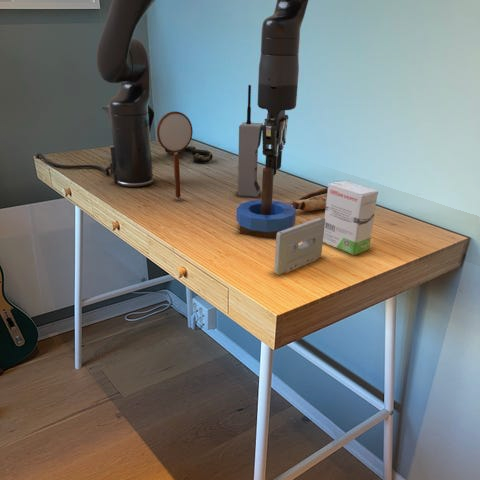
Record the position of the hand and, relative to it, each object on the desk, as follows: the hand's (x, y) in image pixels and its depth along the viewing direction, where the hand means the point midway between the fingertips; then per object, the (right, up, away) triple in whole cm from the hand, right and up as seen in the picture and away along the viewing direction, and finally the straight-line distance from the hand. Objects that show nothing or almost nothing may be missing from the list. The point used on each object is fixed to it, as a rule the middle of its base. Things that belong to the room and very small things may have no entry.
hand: (273, 171), depth 103 cm
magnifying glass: (-22, -2, +16) cm, 27 cm away
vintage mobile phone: (-5, 0, +21) cm, 21 cm away
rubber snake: (-23, +19, +50) cm, 59 cm away
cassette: (+4, -21, -13) cm, 25 cm away
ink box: (+14, -17, -5) cm, 22 cm away
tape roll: (-1, -10, +1) cm, 10 cm away
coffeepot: (-40, +17, +47) cm, 64 cm away
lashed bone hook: (+12, -4, +15) cm, 19 cm away
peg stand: (-2, -12, +2) cm, 12 cm away
